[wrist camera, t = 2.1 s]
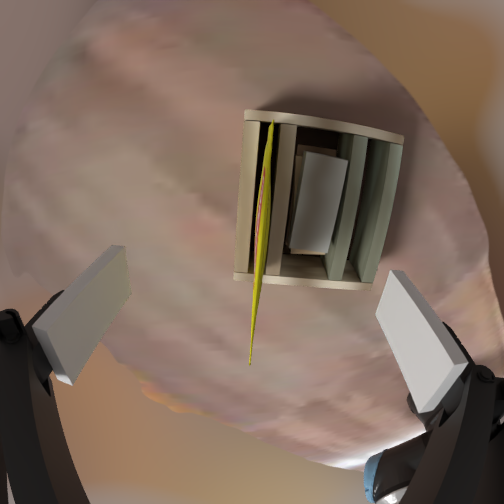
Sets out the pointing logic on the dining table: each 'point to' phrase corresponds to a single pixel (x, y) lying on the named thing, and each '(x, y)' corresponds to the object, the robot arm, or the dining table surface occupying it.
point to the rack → (370, 215)
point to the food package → (261, 229)
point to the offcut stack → (314, 199)
